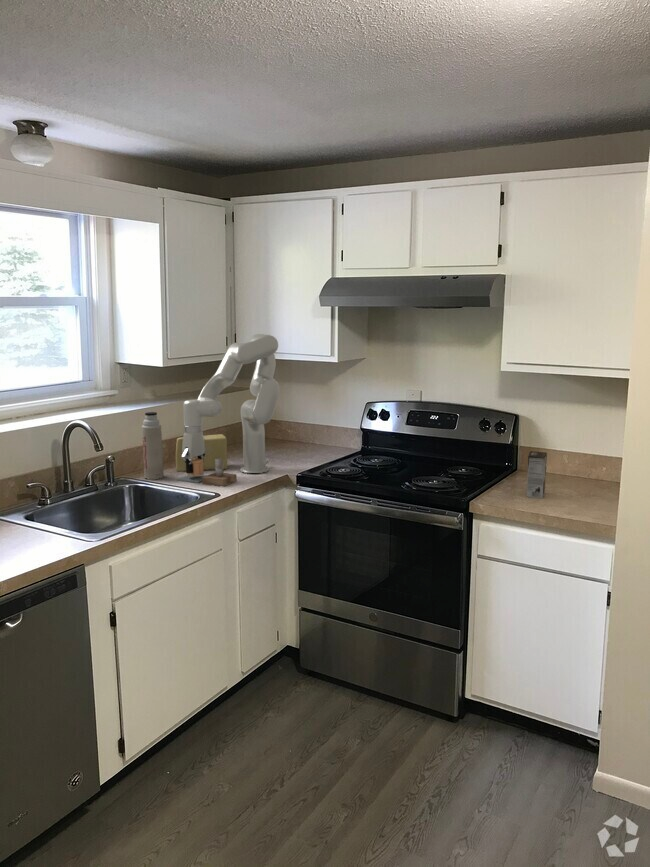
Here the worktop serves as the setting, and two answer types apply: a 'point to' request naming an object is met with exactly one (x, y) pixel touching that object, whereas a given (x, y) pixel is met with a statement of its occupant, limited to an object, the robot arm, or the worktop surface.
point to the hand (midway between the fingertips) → (194, 470)
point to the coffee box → (536, 474)
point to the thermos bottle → (152, 447)
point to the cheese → (214, 447)
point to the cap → (197, 467)
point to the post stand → (219, 475)
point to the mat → (192, 478)
